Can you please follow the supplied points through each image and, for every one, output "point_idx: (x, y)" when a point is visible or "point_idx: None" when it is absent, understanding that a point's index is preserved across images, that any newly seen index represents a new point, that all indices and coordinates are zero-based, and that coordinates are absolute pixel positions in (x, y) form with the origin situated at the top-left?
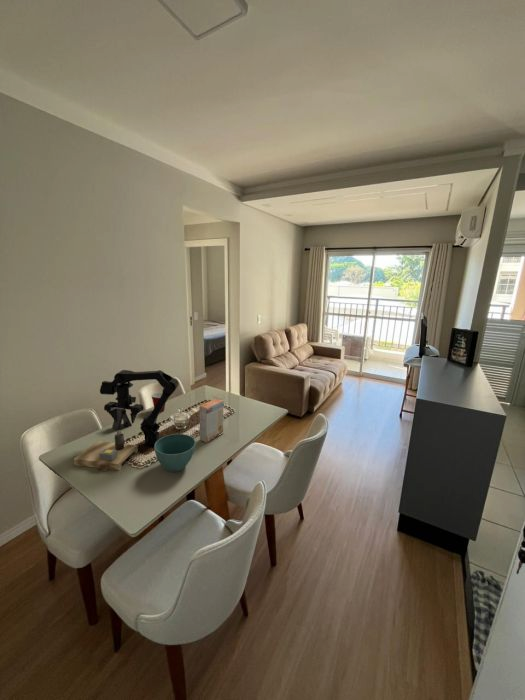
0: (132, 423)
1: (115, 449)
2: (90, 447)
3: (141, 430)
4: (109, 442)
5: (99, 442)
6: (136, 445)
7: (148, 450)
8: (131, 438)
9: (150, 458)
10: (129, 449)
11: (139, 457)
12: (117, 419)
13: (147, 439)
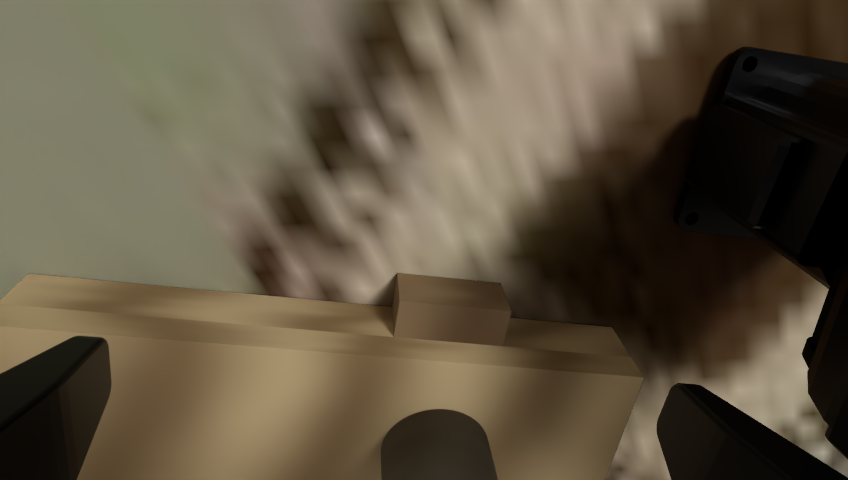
0: (667, 432)
1: None
2: None
3: (809, 387)
4: (206, 343)
5: None
6: (633, 382)
7: (738, 307)
8: (418, 6)
9: None
10: (566, 461)
11: None
12: (82, 371)
13: (778, 252)
